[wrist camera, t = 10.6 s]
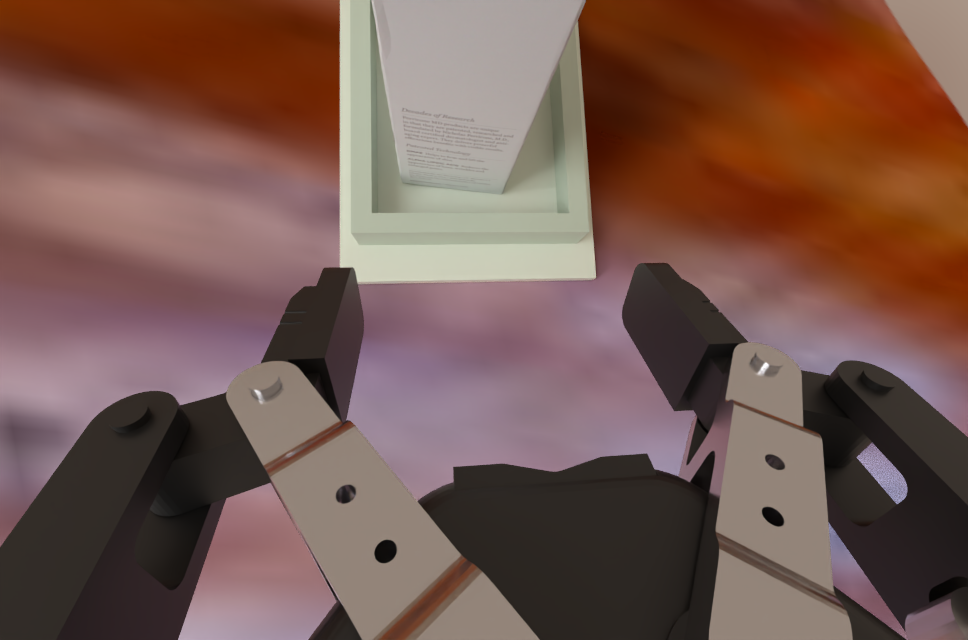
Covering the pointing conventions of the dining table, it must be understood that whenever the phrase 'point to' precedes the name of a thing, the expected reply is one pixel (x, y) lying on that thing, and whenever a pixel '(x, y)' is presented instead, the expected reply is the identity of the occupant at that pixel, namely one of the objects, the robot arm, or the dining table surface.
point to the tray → (459, 213)
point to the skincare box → (467, 83)
